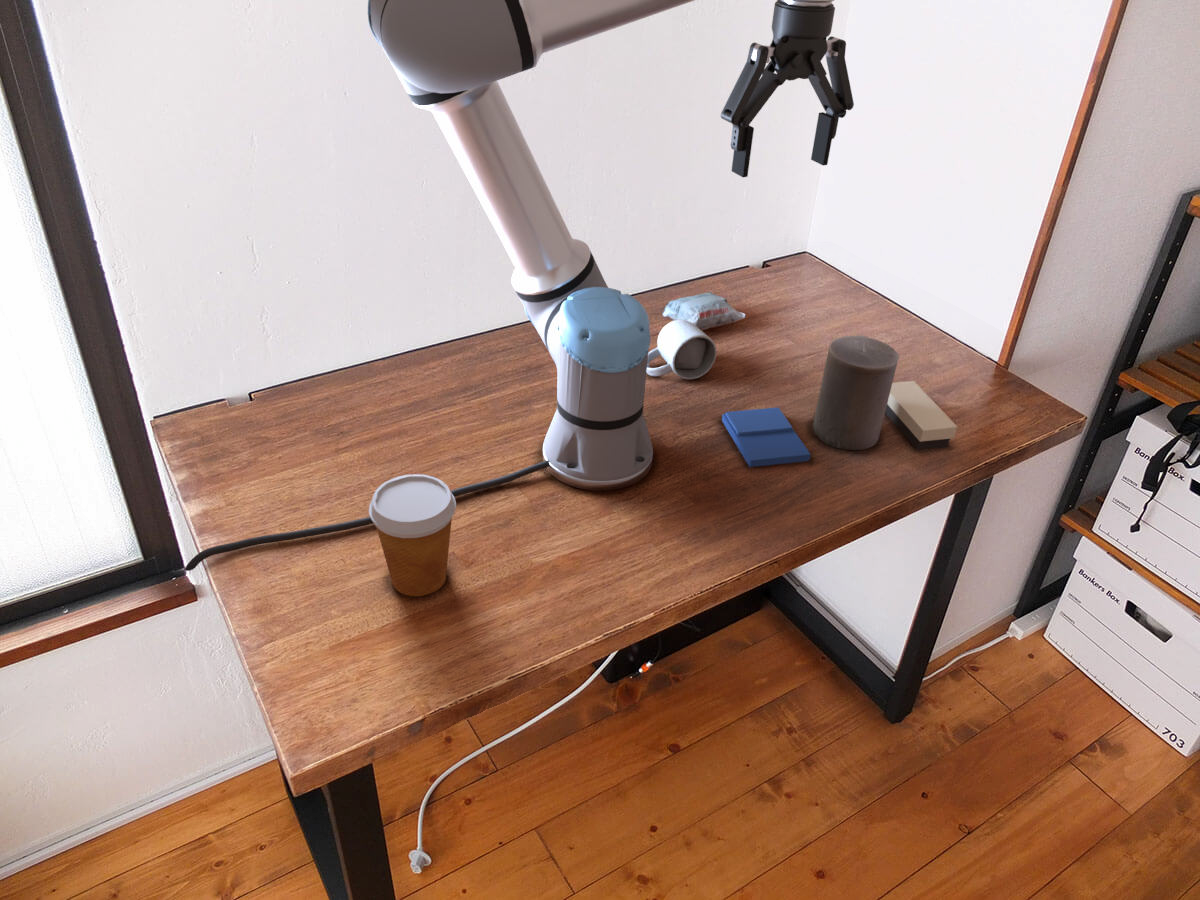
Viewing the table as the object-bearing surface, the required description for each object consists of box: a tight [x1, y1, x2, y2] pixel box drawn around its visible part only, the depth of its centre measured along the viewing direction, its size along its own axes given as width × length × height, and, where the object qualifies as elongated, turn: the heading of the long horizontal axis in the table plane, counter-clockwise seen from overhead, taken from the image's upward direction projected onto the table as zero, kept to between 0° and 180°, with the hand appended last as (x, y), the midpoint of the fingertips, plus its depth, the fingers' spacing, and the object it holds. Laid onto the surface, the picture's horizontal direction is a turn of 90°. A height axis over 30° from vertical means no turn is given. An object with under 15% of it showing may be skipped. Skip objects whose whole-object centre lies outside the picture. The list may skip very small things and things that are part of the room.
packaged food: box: [662, 291, 746, 331], centre depth 166 cm, size 9×12×5 cm
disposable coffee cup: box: [368, 473, 457, 597], centre depth 108 cm, size 10×10×12 cm
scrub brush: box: [885, 380, 958, 451], centre depth 142 cm, size 6×13×4 cm, turn 13°
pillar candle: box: [812, 334, 900, 451], centre depth 137 cm, size 10×10×15 cm
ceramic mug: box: [646, 319, 717, 380], centre depth 152 cm, size 11×8×8 cm
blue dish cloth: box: [721, 406, 812, 468], centre depth 138 cm, size 9×12×2 cm
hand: (780, 168), depth 132 cm, fingers open, 13 cm apart
